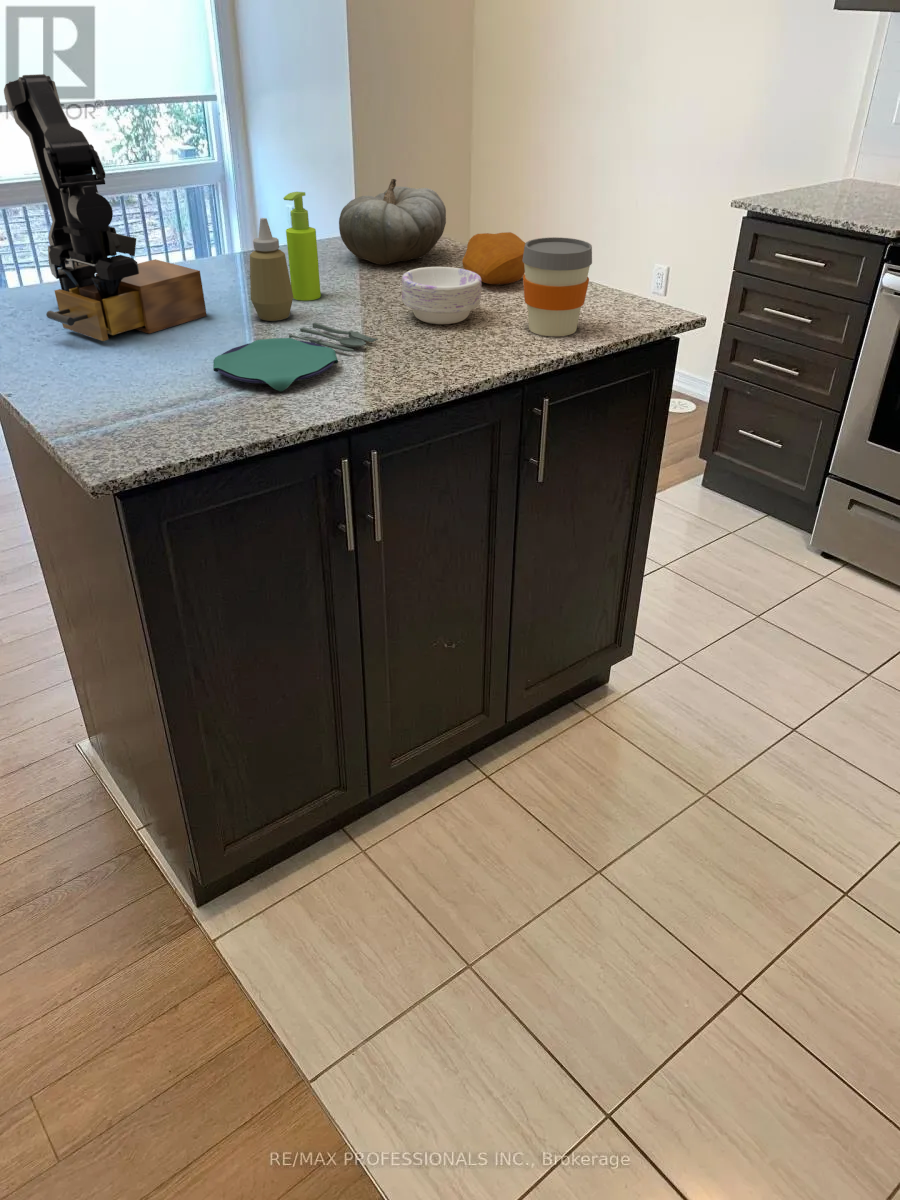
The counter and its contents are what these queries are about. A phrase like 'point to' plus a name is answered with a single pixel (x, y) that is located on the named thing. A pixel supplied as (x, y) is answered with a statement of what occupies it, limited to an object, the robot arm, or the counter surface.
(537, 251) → the reusable coffee cup
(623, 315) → the counter surface
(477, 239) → the bread
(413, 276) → the paper bowls
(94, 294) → the block
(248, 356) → the cutlery set
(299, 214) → the soap dispenser
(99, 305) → the drawer
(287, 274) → the squeeze bottle
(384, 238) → the gourd
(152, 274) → the cabinet
